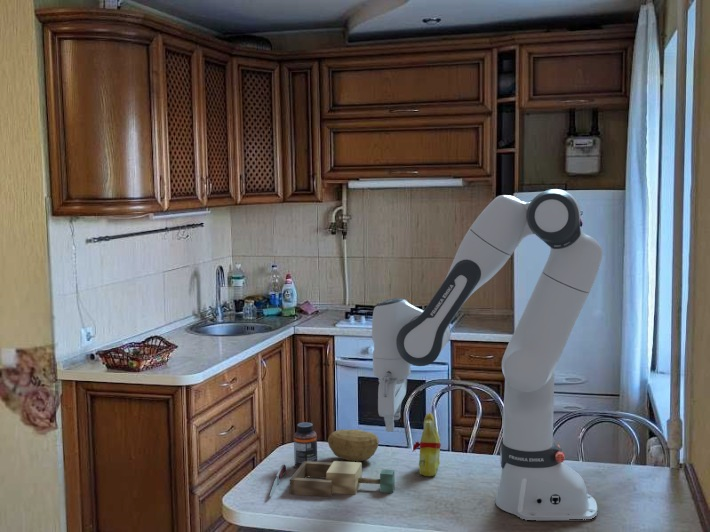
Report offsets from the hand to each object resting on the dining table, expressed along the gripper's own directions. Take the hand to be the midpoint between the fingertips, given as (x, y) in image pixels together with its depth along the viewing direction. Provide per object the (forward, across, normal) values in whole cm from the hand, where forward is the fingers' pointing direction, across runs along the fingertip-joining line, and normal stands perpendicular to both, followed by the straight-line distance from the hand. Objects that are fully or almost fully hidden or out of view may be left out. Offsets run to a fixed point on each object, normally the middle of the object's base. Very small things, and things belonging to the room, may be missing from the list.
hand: (393, 424), depth 194 cm
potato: (+16, +19, +14) cm, 29 cm away
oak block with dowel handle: (+16, 0, +8) cm, 18 cm away
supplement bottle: (+16, +12, +25) cm, 32 cm away
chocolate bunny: (+16, +15, -6) cm, 23 cm away
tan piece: (+16, 0, +19) cm, 24 cm away
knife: (+16, -2, +29) cm, 33 cm away
